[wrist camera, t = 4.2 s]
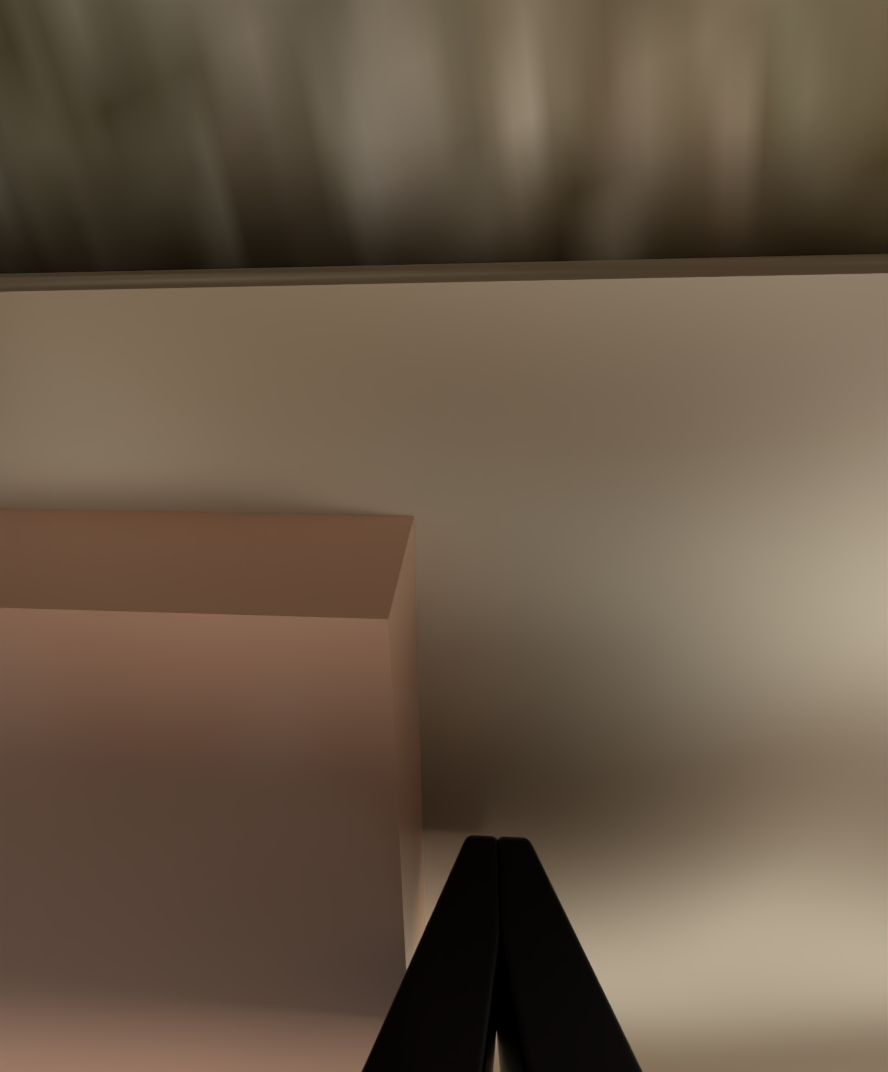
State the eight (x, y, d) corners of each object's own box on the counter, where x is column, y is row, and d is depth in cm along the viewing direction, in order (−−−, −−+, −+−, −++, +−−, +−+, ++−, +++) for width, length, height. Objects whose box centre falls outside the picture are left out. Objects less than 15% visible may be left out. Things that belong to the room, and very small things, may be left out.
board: (807, 896, 15) (910, 1108, 11) (155, 871, 16) (59, 1058, 12) (1037, 250, 9) (1420, 261, 5) (-45, 275, 10) (-353, 299, 6)
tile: (427, 998, 11) (415, 1154, 9) (87, 977, 11) (9, 1122, 9) (414, 516, 7) (388, 619, 5) (-115, 505, 7) (-321, 597, 5)
